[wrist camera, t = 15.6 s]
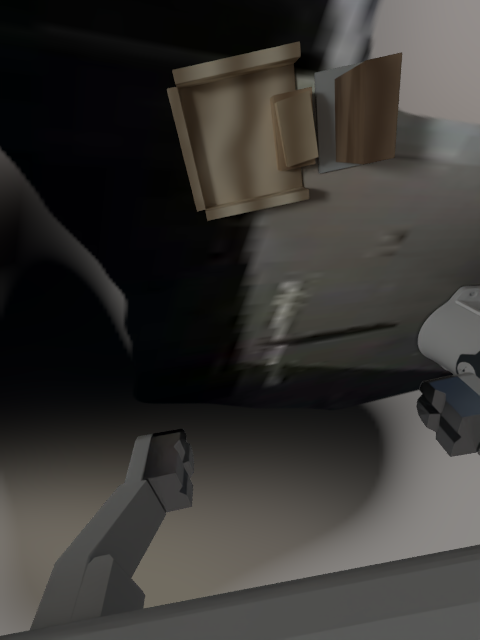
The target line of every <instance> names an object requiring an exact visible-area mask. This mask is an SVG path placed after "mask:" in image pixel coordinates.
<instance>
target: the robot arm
mask: <svg viewBox="0 0 480 640" xmlns="http://www.w3.org/2000/svg"><path fill="white" fill-rule="evenodd" d="M418 347H419V349H420V351H421V353H422V354H423V355H424V356H426V357H427V358H429V359H431V360H433V361H435V362H437V363H438V364H439V365H440V366H441V367H442V368H444V369H445V370H449V371H450V372H451V373H453V374H454V375H453V376H446V377H441V378H437V379H432V380H427V381H423V382H422V383H421V384H420V389H419V390H420V391H421V392H422V395H421V396H420V397H419V399H418V401H417V410H418V414H419V416H420V418H421V420H422V421H423V423H424V424H425V426H426V427H427V428H429V429H431V430H433V431H435V432H436V440H437V441H438V442H439V443H440V445H441V446H442V447H443V448H444V449H445V451H446V452H447V453H448V454H449V456H451V457H452V456H458V455H464V454H470V453H476V452H478V454H479V455H480V286H463V287H461V288H460V289H458V290H457V291H456V293H455V294H454V295H453V296H452V297H451V299H450V300H449V301H448V302H447V303H445V304H444V305H442V306H441V307H440V308H438V309H437V310H436V311H435V312H433V313H432V314H431V315H430V316H429V318H428V319H427V320H426V321H425V323H424V324H423V326H422V328H421V330H420V333H419V336H418ZM193 473H194V459H193V452H192V448H191V445H190V444H189V443H187V442H186V433H185V431H184V430H183V429H178V430H173V431H166V432H160V433H154V434H150V435H144V436H139V437H138V438H137V440H136V441H135V445H134V449H133V453H132V457H131V460H130V464H129V469H128V472H127V476H126V480H125V484H122V485H119V487H118V488H117V489H116V490H115V491H114V493H113V494H112V495H111V496H110V497H109V499H108V500H107V501H106V502H105V503H104V505H103V506H102V507H101V508H100V510H99V511H98V512H97V513H96V514H95V516H94V517H93V518H92V519H91V521H90V522H89V523H88V524H87V525H86V526H85V528H84V529H83V530H82V531H81V533H80V534H79V535H78V536H77V537H76V538H75V540H74V541H73V542H72V543H71V545H70V546H69V547H68V548H67V549H66V551H65V552H64V553H63V554H62V555H61V557H60V558H59V559H58V560H57V562H56V563H55V565H54V568H53V570H52V573H51V576H50V578H49V581H48V584H47V586H46V589H45V591H44V594H43V597H42V599H41V602H40V605H39V607H38V610H37V612H36V615H35V618H34V620H33V623H32V626H31V628H30V630H29V631H24V632H19V633H13V634H8V635H3V636H0V640H480V545H475V546H470V547H465V548H460V549H454V550H449V551H444V552H438V553H434V554H428V555H423V556H417V557H412V558H407V559H402V560H397V561H392V562H386V563H381V564H375V565H370V566H365V567H360V568H355V569H349V570H344V571H339V572H333V573H328V574H323V575H318V576H312V577H307V578H303V579H297V580H291V581H286V582H281V583H276V584H271V585H265V586H260V587H255V588H249V589H244V590H239V591H234V592H228V593H223V594H218V595H213V596H208V597H203V598H197V599H192V600H187V601H181V602H176V603H171V604H165V605H160V606H155V607H150V608H144V609H143V606H144V599H145V594H144V593H143V591H142V590H141V589H140V588H139V586H138V585H137V584H136V583H135V582H134V581H133V580H132V579H131V577H132V576H133V574H134V572H135V570H136V568H137V566H138V565H139V563H140V561H141V559H142V557H143V556H144V554H145V552H146V550H147V548H148V546H149V545H150V543H151V541H152V539H153V537H154V535H155V534H156V532H157V530H158V528H159V526H160V525H161V523H162V521H163V519H164V517H165V515H166V513H165V512H170V511H174V510H179V509H183V508H187V507H192V496H193V484H192V482H191V480H190V477H191V476H192V474H193Z"/></svg>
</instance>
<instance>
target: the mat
mask: <svg viewBox="0 0 480 640" xmlns="http://www.w3.org/2000/svg"><path fill="white" fill-rule="evenodd" d="M362 63H363V62H362ZM359 64H361V63H357V64H353V65H348V66H344V67H339V68H335V69H330V70H326V71H321V72H317V73H315V74H314V77H315V100H316V123H317V146H318V156H319V157H318V168H319V173H324V172H329V171H333V170H338V169H343V168H347V167H352V166H357V165H361V164H353V163H341V162H336V138H335V79H336V78H338V77H339V76H341V75H343V74H344V73H346V72H348V71H349V70H351V69H353V68H354V67H356V66H358V65H359Z"/></svg>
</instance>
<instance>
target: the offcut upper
mask: <svg viewBox="0 0 480 640" xmlns="http://www.w3.org/2000/svg"><path fill="white" fill-rule="evenodd" d="M274 105H275V110H276V115H277V120H278V126H279V131H280V136H281V141H282V147H283V152H284V157H285V162H286V166H287V167H290V166H293V165H296V164H299V163H302V162H305V161H308V160H311V159H314V158H317V157H319V156H318V149H317V141H316V134H315V127H314V120H313V112H312V105H311V98H310V91H306V92H303V93H301V94H298V95H295V96H292V97H289V98H287V99H284V100H281V101H278V102H276V103H275V104H274Z"/></svg>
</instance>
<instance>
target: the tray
mask: <svg viewBox="0 0 480 640" xmlns="http://www.w3.org/2000/svg"><path fill="white" fill-rule="evenodd" d="M300 56H301V53H300V42H296V43H291V44H287V45H282V46H278V47H273V48H269V49H265V50H260V51H256V52H251V53H247V54H242V55H238V56H233V57H229V58H224V59H220V60H216V61H211V62H207V63H202V64H198V65H193V66H189V67H184V68H180V69H176V70H172V71H173V76H174V80H175V84H176V86H177V87H174V88H169V89H167V92H168V96H169V100H170V104H171V108H172V112H173V116H174V120H175V124H176V128H177V132H178V136H179V140H180V144H181V148H182V152H183V156H184V160H185V164H186V168H187V172H188V176H189V180H190V184H191V188H192V192H193V196H194V200H195V204H196V208H197V211H201V210H206V211H205V212H206V216H207V220H213V219H218V218H222V217H227V216H232V215H236V214H241V213H246V212H251V211H255V210H260V209H265V208H270V207H274V206H279V205H284V204H289V203H293V202H298V201H303V200H307V199H309V189H306V188H304V187H302V174H301V167H298V168H294V169H289V170H284V171H279V170H277V160H276V151H275V142H274V133H273V123H272V114H271V105H270V98H271V97H272V96H273V95H277V94H282V93H286V92H291V91H295V90H296V89H295V75H294V63H295V62H296V61H297V60H298V59H299V57H300Z"/></svg>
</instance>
